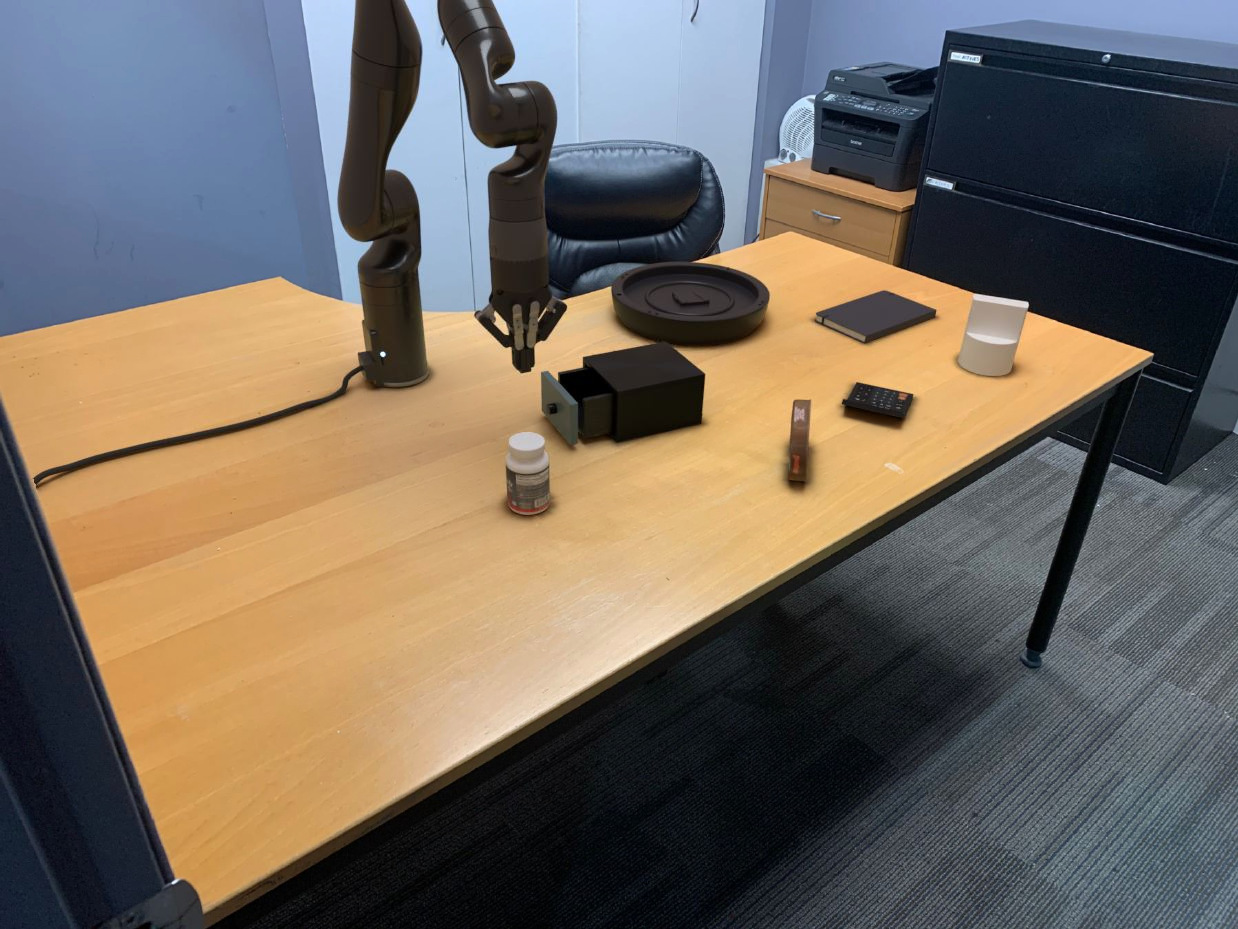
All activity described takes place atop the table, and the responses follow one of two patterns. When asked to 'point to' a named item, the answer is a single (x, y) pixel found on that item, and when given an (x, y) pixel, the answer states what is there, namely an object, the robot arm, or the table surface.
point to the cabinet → (650, 389)
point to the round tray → (689, 302)
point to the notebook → (874, 315)
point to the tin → (799, 440)
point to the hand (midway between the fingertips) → (523, 370)
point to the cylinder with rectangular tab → (992, 335)
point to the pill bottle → (527, 474)
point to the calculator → (879, 399)
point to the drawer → (578, 403)
